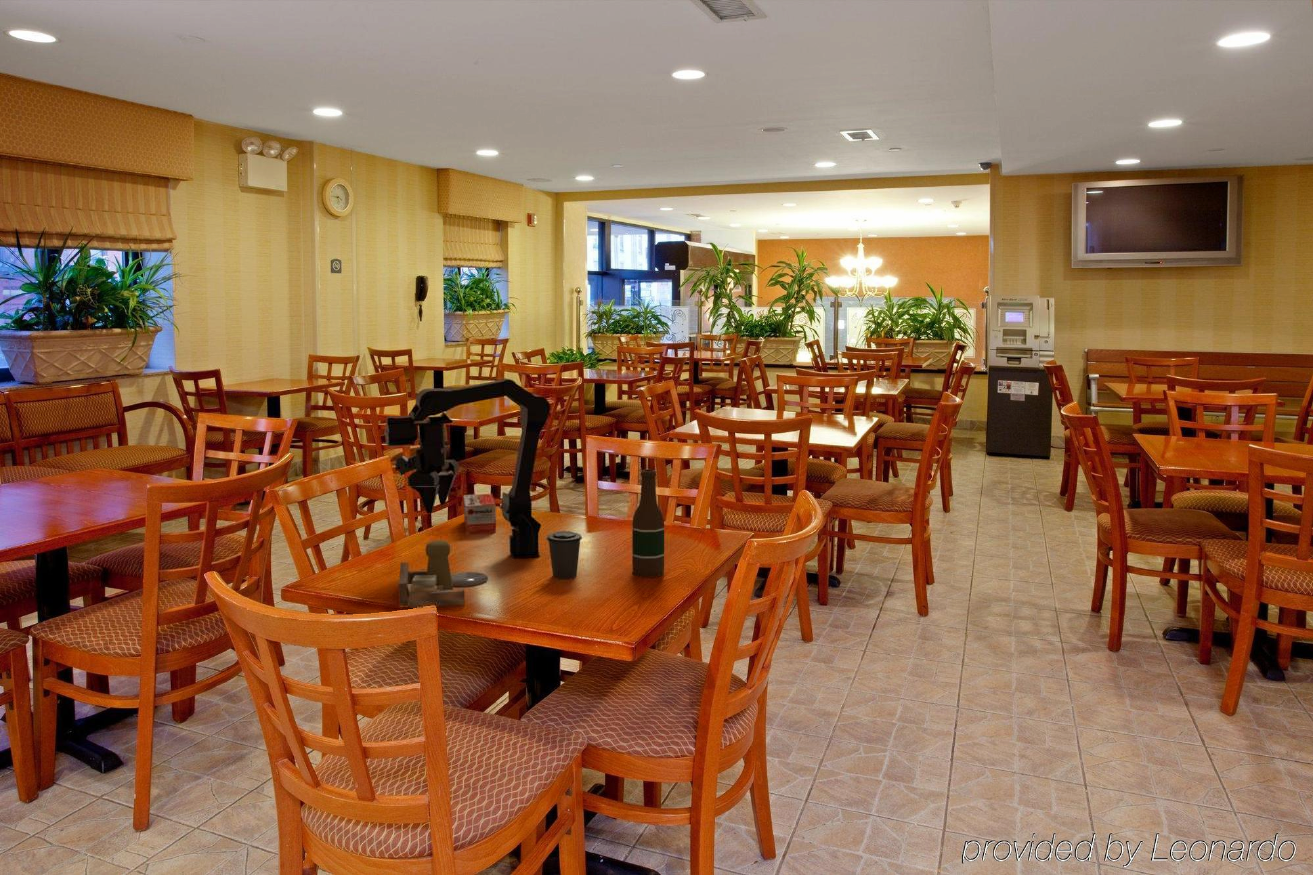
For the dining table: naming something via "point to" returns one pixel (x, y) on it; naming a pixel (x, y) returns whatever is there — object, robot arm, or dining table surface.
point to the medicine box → (479, 513)
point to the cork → (439, 563)
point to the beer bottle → (648, 531)
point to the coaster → (468, 579)
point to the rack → (425, 590)
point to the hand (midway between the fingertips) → (436, 508)
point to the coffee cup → (564, 553)
